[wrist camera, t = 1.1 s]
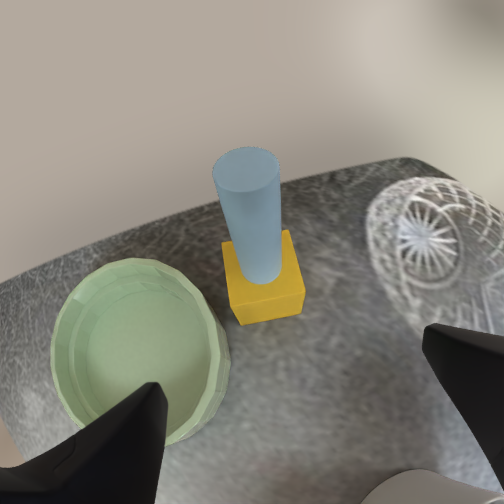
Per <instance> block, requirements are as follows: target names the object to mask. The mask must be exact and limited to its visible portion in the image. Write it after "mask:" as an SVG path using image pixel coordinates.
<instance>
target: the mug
mask: <svg viewBox="0 0 504 504" xmlns="http://www.w3.org/2000/svg"><path fill="white" fill-rule="evenodd" d="M361 504H504V494H501V493H497V492H493V491H489V490H485V489H481V488H478V487H474V486H471V485H468V484H464V483H461V482H458V481H455V480H452V479H449V478H447V477H444V476H442V475H439V474H437V473H435V472H432V471H429V470H423V469H417V470H409V471H405V472H402V473H400V474H397V475H395V476H393V477H391V478H389V479H387V480H386V481H384V482H383V483H381V484H380V485H378V486H377V487H376V488H375V489H374V490H373V491H371V492H370V493H369V494H368V495H367V497H366V498H365V499H364V500H363V501H362V503H361Z"/></svg>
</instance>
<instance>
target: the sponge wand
mask: <svg viewBox="0 0 504 504" xmlns="http://www.w3.org/2000/svg"><path fill="white" fill-rule="evenodd" d="M212 173H213V179H214V182H215V186H216V189H217V193H218V196H219V199H220V203H221V206H222V209H223V213H224V216H225V219H226V223H227V226H228V229H229V233H230V236H231V239H232V241H227V242H222V251H223V258H224V266H225V273H226V280H227V287H228V294H229V301H230V307H231V309H232V310H233V312H234V314H235V316H236V318H237V319H238V321H239V323H240V325H241V326H242V325H247V324H252V323H258V322H263V321H268V320H273V319H278V318H282V317H287V316H292V315H296V314H301V311H302V306H303V302H304V297H305V293H306V290H305V286H304V283H303V279H302V275H301V272H300V268H299V265H298V261H297V257H296V254H295V250H294V247H293V243H292V240H291V237H290V233H289V230H283V231H281V195H280V167H279V162H278V160H277V158H276V157H275V156H274V155H273V154H272V153H271V152H269V151H267V150H265V149H262V148H257V147H242V148H237V149H234V150H232V151H229V152H227V153H226V154H224V155H223V156H221V157H220V158H219V159H218V160H217V162H216V163H215V165H214V167H213V172H212Z"/></svg>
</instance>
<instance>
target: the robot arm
mask: <svg viewBox="0 0 504 504" xmlns="http://www.w3.org/2000/svg"><path fill="white" fill-rule="evenodd" d="M422 351H423V353H424V355H425V357H426V359H427V360H428V362H429V364H430V366H431V368H432V369H433V371H434V373H435V375H436V377H437V379H438V380H439V382H440V384H441V385H442V387H443V388H444V390H445V391H446V393H447V394H448V396H449V397H450V399H451V400H452V402H453V403H454V405H455V406H456V408H457V409H458V411H459V412H460V414H461V415H462V417H463V419H464V420H465V422H466V423H467V425H468V427H469V428H470V430H471V432H472V433H473V435H474V436H475V438H476V440H477V442H478V443H479V445H480V447H481V448H482V450H483V452H484V454H485V455H486V457H487V459H488V461H489V463H490V464H491V467H492V469H493V470H494V472H495V474H496V476H497V478H498V480H499V482H500V484H501V486H502V488H503V490H504V336H499V335H493V334H488V333H483V332H477V331H472V330H467V329H462V328H457V327H452V326H447V325H442V324H438V323H433V324H431V325H428V326H426V327H425V329H424V335H423V342H422ZM167 416H168V400H167V398H166V396H165V394H164V391H163V389H162V387H161V385H160V384H159V383H158V382H146V383H145V384H143V385H142V386H141V387H139V388H138V389H137V390H135V391H134V392H133V393H131V394H130V395H129V396H127V397H126V398H124V399H123V400H122V401H120V402H119V403H118V404H116V405H115V406H114V407H112V408H111V409H109V410H108V411H107V412H105V413H104V414H102V415H101V416H100V417H98V418H97V419H95V420H94V421H93V422H91V423H90V424H88V425H87V426H85V427H84V428H83V429H81V430H80V431H78V432H77V433H76V434H75V435H72V436H71V437H69V438H68V439H67V440H65V441H63V442H62V443H60V444H59V445H57V446H56V447H54V448H52V449H50V450H48V451H47V452H45V453H43V454H41V455H39V456H37V457H35V458H33V459H31V460H29V461H27V462H25V463H23V464H21V465H19V466H16V467H12V468H1V467H0V504H154V503H155V497H156V491H157V486H158V480H159V474H160V469H161V463H162V458H163V453H164V448H165V441H166V429H167Z"/></svg>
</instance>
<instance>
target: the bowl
mask: <svg viewBox="0 0 504 504" xmlns="http://www.w3.org/2000/svg"><path fill="white" fill-rule="evenodd" d="M230 366H231V359H230V354H229V348H228V342H227V336H226V332H225V330H224V328H223V326H222V324H221V323H220V321H219V319H218V317H217V315H216V313H215V311H214V309H213V308H212V306H211V305H210V304H209V302H208V301H207V300H206V298H205V297H204V295H203V294H202V293H201V291H200V290H199V289H198V288H197V287H196V286H195V285H194V284H193V283H192V282H191V281H190V280H189V279H188V278H187V277H186V276H185V275H184V274H182V272H180V271H179V270H177V269H175V268H172V267H170V266H168V265H166V264H164V263H162V262H159V261H157V260H153V259H141V258H128V259H123V260H119V261H115V262H111V263H108V264H106V265H104V266H102V267H101V268H99V269H97V270H96V271H94V272H92V273H91V274H89V275H87V276H86V277H85V278H84V279H83V280H82V281H81V282H80V283H79V284H78V286H77V287H76V288H75V289H74V290H73V291H72V292H71V293H70V294H69V296H68V298H67V300H66V301H65V303H64V305H63V307H62V309H61V310H60V312H59V314H58V317H57V320H56V323H55V327H54V331H53V335H52V339H51V372H52V376H53V380H54V384H55V388H56V392H57V394H58V397H59V399H60V401H61V402H62V404H63V406H64V408H65V409H66V411H67V413H68V415H69V416H70V418H71V419H72V420H73V421H74V422H75V423H76V424H77V425H78V426H79V427H80V428H81V429H83V428H84V427H85V426H87V425H88V424H90V423H91V422H93V421H94V420H95V419H97V418H98V417H100V416H101V415H102V414H104V413H105V412H107V411H108V410H109V409H111V408H112V407H114V406H115V405H116V404H118V403H119V402H120V401H122V400H123V399H124V398H126V397H127V396H129V395H130V394H131V393H133V392H134V391H135V390H137V389H138V388H139V387H141V386H142V385H143V384H145V383H146V382H158V383H159V384H160V385H161V387H162V389H163V391H164V394H165V396H166V398H167V400H168V416H167V429H166V441H165V446H168V445H171V444H174V443H177V442H179V441H182V440H184V439H187V438H189V437H191V436H193V435H194V434H195V433H196V432H198V431H199V430H200V429H201V428H202V427H203V426H204V425H205V424H207V423H208V422H209V421H210V420H211V419H212V418H213V417H214V415H215V413H216V411H217V409H218V407H219V405H220V404H221V402H222V400H223V398H224V396H225V394H226V391H227V386H228V379H229V372H230Z"/></svg>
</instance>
